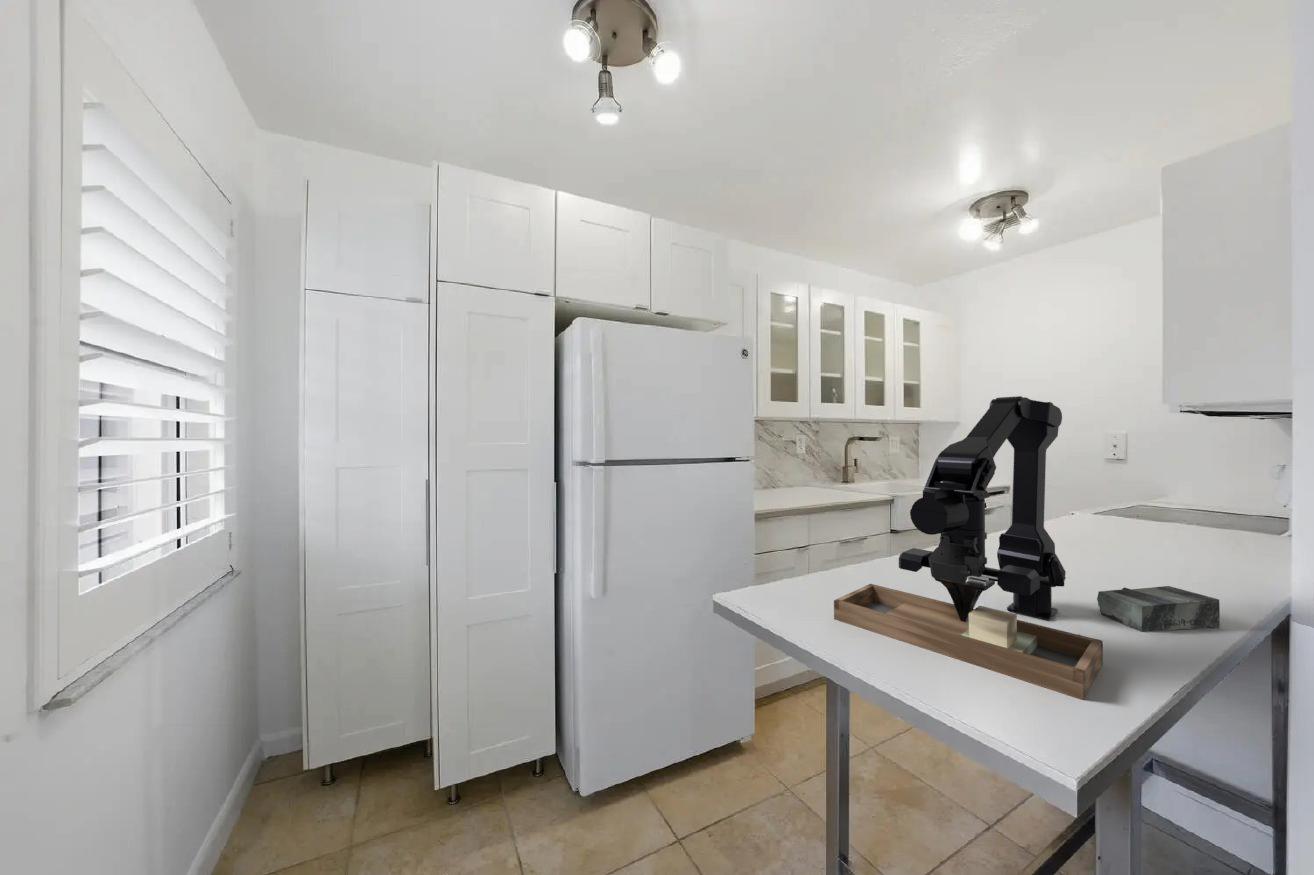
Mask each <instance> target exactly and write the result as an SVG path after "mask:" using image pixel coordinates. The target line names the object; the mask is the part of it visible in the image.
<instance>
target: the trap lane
mask: <svg viewBox="0 0 1314 875" xmlns="http://www.w3.org/2000/svg"><path fill="white" fill-rule="evenodd" d="M974 609H975V608H973V610H974ZM833 620H836V621H838V622H842V623H845V624H847V625H851V626H855V627H858V628H861V629H864V630H867V631H870V632H873V633H876V634H879V635H882V636H885V637H889V638H892V639H895V640H898V641H901V642H903V643H907V644H910V645H912V646H913V645H914V646H917V647H919V648H923V649H926V650H929V651H931V652H934V653H937V654H940V655H944V656H947V657H950V658H953V659H956V660H960V661H963V662H966V663H969V664H971V665H975V666H978V667H981V668H984V669H987V670H991V671H993V672H996V673H1000V674H1002V675H1005V676H1008V677H1012V678H1014V679H1018V680H1021V681H1024V682H1028V683H1030V684H1033V685H1036V686H1040V687H1043V688H1046V689H1049V690H1051V691H1055V692H1058V693H1060V694H1064V695H1066V696H1070V697H1074V698H1076V699H1079V700H1085V697H1086V696H1087V694H1088V692H1089V690H1090V688H1091V686H1093V683H1094V681H1095V680H1096V677H1097V675H1098V673H1099V672H1100V670H1101V668H1102V667H1103V663H1104V662H1103V659H1104V658H1103V656H1104V653H1103V652H1104V651H1103V648H1104V645H1103V643H1104V642H1103V641H1104V640H1101V639H1097V638H1095V637H1089V636H1085V635H1081V634H1077V633H1074V632H1073V633H1072V632H1069V631H1064V630H1062V629H1056V628H1054V627H1053V628H1052V627H1050V626H1045V625H1040V624H1036V623H1032V622H1028V621H1023V620H1020V619H1017V640H1016V641H1015V642H1014V643H1013V644H1012V645H1011V646H1010V647H1009V648H1005V647H1001V646H998V645H994V644H991V643H987V642H984V641H980V640H977V639H973V638H970V637H969V619H968V621H967V622H963V621H961V620H960V618H959V615H958V613H957V610H956V608H955V605H954V603H951V602H947V601H942V600H939V599H934V598H931V597H928V596H923V595H918V594H914V593H910V592H907V591H906V592H905V591H902V590H898V589H893V588H890V587H887V586H880V585H878V584H877V585H876V584H873V583H869V584H866V585H864V586H862V587H860V588H858V589H855V590H854V591H852V592H849V593H847V594H845V595H842V596H841V597H839V598H836V599H834V600H833Z"/></svg>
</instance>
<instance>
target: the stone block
mask: <svg viewBox="0 0 1314 875" xmlns="http://www.w3.org/2000/svg"><path fill="white" fill-rule="evenodd" d="M1096 600H1097V605H1098V608H1099V612H1100V615H1102V616H1105V617H1106V618H1109V619H1112V620H1114V621H1116V622H1119V623H1121V624H1123V625H1124V626H1126V627H1129V628H1131V629H1134V630H1137V631H1139V632H1141V633H1144V632H1146V633H1148V632H1166V631H1171V630H1179V629H1187V630H1189V629H1191V630H1200V629H1201V630H1202V629H1205V628H1210V629H1220V625H1221V623H1220V620H1221V618H1220V617H1221V616H1220V611H1221V610H1220V609H1221V608H1220V607H1221V606H1220V599H1218V598H1216V597H1215V598H1214V597H1213V596H1212V597H1211V596H1208V595H1205V594H1204V595H1203V594H1201V593H1196V592H1194V591H1189V590H1185V589H1181V588H1178V587H1174V586H1171V585H1166V586H1165V585H1164V586H1155V587H1153V586H1152V587H1142V588H1127V587H1123V588H1121V589H1112V590H1111V589H1110V590H1099V591H1098V593H1097V598H1096Z"/></svg>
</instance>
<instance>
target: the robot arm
mask: <svg viewBox="0 0 1314 875" xmlns="http://www.w3.org/2000/svg"><path fill="white" fill-rule="evenodd" d="M1062 421H1063V415H1062V410H1061V409H1060V407H1058V406H1056V405H1055V404H1054V403H1053V402H1051V401H1042V400H1041V401H1040V400H1035V399H1030V398H1028V397H1026V396H1025V397H1023V396H1022V395H1021V396H1020V395H1017V396H1003V397H996V398H994V399H991V401H990V402H989V408H988V409H987V411H986V412H985V413H984V414H983V416H982V417H980V419H979V420H978V422H977V423H976V424H975V425H974V427H973V428H972V429H971V430H970V432H969V433H968V434H967V436H965V438H963V439H962V440H959V441H956V442H954V443H951V444H949V445H947V447H945V448H944V449H942V451H940V452H939V453H938V455H937V457H936V459H935V461H934V463H933V465H932V467H931V470H930V473H929V475H928V478H927V480H926V482H925V485H924V487H923V489H922V497H920V498H918V499H917V500H915V501H914V503H913V504H912V506H911V509H910V511H909V514H910V520H911V522H912V524H913V525H914V527H915V528H916V529H917V530H918V531H920V532H921V533H923V534H925V535H930V536H931V535H939V534H940V537H939V544H938V546H937V547H935V549H934V550H928V549H921V548H916V547H913V548H910V549H908V550H906V551H903V552H901V553H900V554H899V556H898V568H899V569H901V570H904V571H905V570H906V571H908V572H914V573H917V572H919V571H920V570H921V569H923V567H924V568H927V569H928V568H929V569H930V576H931V577H932V578H933V579H934V581H936V582H939V583H941V584H942V585H943V586H944V587H945V588H946V590H947V592H948V594H949V595H950V599H951V600H952V602H953V603H952V604H954V605H955V608H956V610H957V613H958V615H959V618H960V620H961V621H963V622H967V621H968V619H969V613H970V612H971V611H973V609H975V606H976V604H977V601H978V600H979V598H980V597H981V594H982V593H983V592H985V591H987V590H988V589H990V588H991V587H993V586H994V585H995V583H996V582H997V585H998V586H999V588H1000V589H1001V590H1002V591H1003V592H1007V593H1012V594H1013V595H1012V597H1013V598H1012V600H1013V601H1012V602H1011V603H1010V604H1009V605H1008V606H1007V607H1006V610H1007V612H1011V613H1012V612H1013V613H1015V614H1021V615H1025V616H1029V617H1033V618H1036V619H1037V618H1038V619H1042V620H1046V621H1051V619H1052V618H1054V616H1055V615H1056V614H1057V613H1058V610H1059V609H1058V608H1054V607H1052V606H1053V605H1052V602H1053V601H1052V597H1053V595H1052V594H1053V592H1052V588H1055V587H1061V588H1062V587H1065V581H1066V578H1067V577H1066V573H1067V572H1066V570H1065V568H1064V566H1063V564H1062V562H1061V561H1060V559H1059V557H1058V555H1057V554H1056V546H1055V544H1056V543H1055V541H1054V540H1053V539H1052V538H1051V536H1050V534H1049V533H1048V532H1047V530H1046V529H1045V497H1046V496H1045V494H1046V467H1047V466H1046V465H1047V464H1046V462H1047V461H1046V460H1047V457H1046V456H1047V449H1048V448H1049V447H1050V446H1051V445H1052V444H1053V442H1054V441H1055V440H1056V438H1058V435H1059V434H1058V433H1059V427H1060V426H1061V425H1062ZM1006 441H1008V443H1009V444H1010V445H1011V447H1012V448H1013V466H1012V467H1013V469H1012V470H1013V472H1012V474H1013V476H1012V501H1011V502H1012V503H1011V504H1012V508H1011V511H1012V512H1011V525H1010V527H1008V528H1007V530H1006V531H1005V532H1004V533H1001V534H999V538H998V541H999V544H998V548H997V551H996V552H997V553H996V554H997V555H996V556H997V562H998V566H999V569H998V568H994V567H993V568H992V567H987V566H986V565H987V564H988V557H987V556H986V540H987V539H988V533H987V532H986V515H985V514H986V507H985V506H986V502H985V501H986V500H985V499H988V498H990V496H991V495H990V493H989V492H988V491H987V488H988V486H989V484H990V482H991V481H992V479H993V477H994V475H995V473H996V469H997V465H996V463H995V459H994V458H995V456H996V454H997V452H998V451H999V450H1000V448H1001V447H1002V445H1003V444H1005V442H1006Z"/></svg>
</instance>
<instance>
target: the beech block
mask: <svg viewBox="0 0 1314 875" xmlns="http://www.w3.org/2000/svg"><path fill="white" fill-rule="evenodd" d="M973 609H974V610H973V611H971V612H970V613H969V637H970V638H973V639H977V640H980V641H984V642H987V643H991V644H994V645H998V646H1001V647H1005V648H1009V647H1010V646H1011V645H1012V644H1013V643H1014V642H1015V641H1016V640H1017V620H1018V618H1017V617H1018V616H1017V615H1018V613H1014V612H1013V613H1012V612H1010V611H1004V610H1000V609H997V608H992V607H988V606H985V605H984V606H982V605H979V606H977V607H976V608H973Z"/></svg>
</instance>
